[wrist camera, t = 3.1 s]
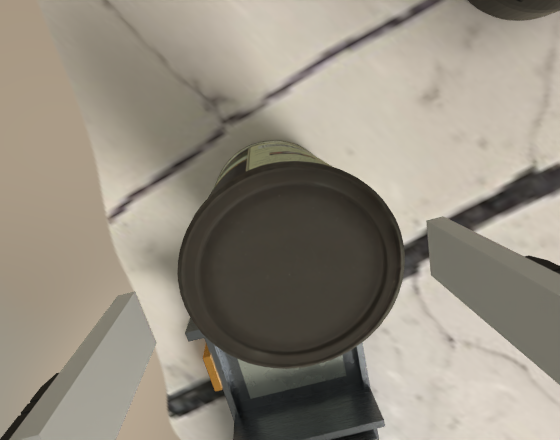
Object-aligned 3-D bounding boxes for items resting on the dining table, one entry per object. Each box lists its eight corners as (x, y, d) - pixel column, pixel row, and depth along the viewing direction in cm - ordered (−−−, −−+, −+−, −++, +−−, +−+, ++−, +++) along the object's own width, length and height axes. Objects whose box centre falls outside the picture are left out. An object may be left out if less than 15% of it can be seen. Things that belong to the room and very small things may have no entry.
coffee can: (242, 271, 29) (232, 398, 16) (194, 166, 26) (133, 216, 13) (347, 232, 29) (427, 328, 16) (311, 121, 26) (373, 123, 13)
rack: (190, 295, 30) (174, 339, 24) (343, 259, 30) (365, 293, 24) (261, 493, 38) (262, 561, 33) (379, 464, 39) (402, 527, 33)
